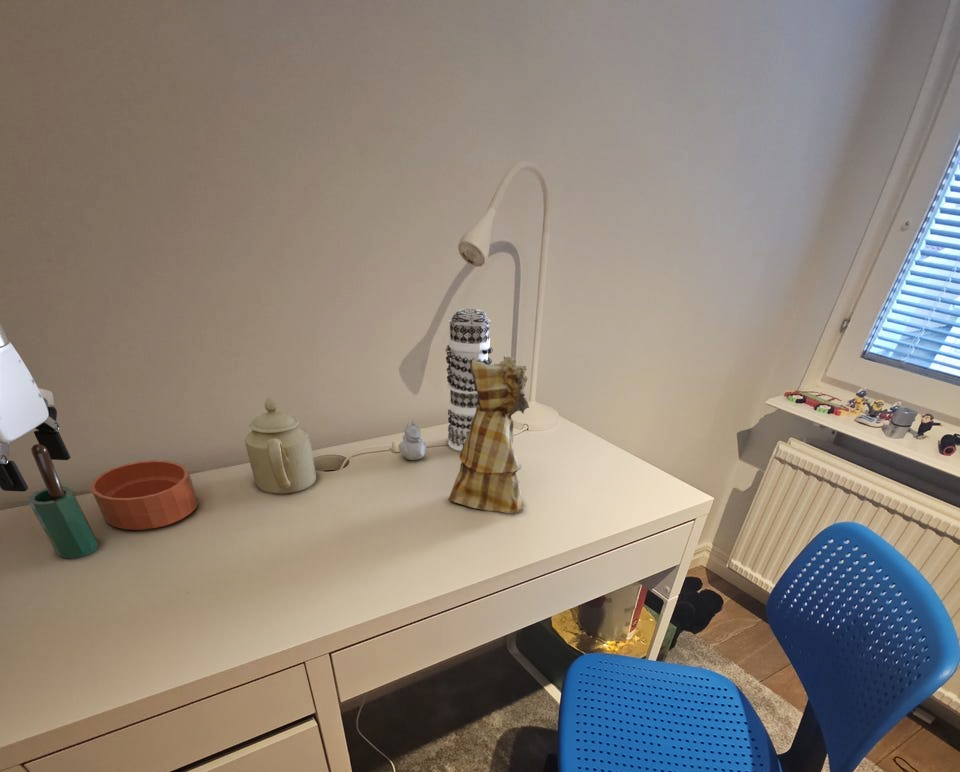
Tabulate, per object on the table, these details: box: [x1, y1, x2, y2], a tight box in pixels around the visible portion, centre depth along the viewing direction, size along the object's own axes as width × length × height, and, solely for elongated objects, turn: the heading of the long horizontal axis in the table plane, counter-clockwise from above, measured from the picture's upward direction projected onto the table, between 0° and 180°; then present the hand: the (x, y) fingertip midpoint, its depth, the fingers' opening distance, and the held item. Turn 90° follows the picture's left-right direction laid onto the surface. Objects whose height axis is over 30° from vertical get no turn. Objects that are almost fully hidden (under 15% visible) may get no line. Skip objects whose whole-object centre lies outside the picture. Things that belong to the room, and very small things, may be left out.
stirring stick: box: [30, 443, 65, 501], centre depth 80 cm, size 2×2×16 cm
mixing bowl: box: [89, 459, 199, 531], centre depth 92 cm, size 14×14×6 cm
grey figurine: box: [398, 419, 427, 461], centre depth 111 cm, size 5×7×8 cm
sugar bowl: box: [244, 397, 317, 495], centre depth 98 cm, size 15×11×15 cm
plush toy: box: [447, 355, 530, 514], centre depth 94 cm, size 14×14×25 cm
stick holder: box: [27, 486, 99, 560], centre depth 82 cm, size 5×5×9 cm
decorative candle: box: [445, 308, 494, 452], centre depth 112 cm, size 9×9×25 cm
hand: (38, 473), depth 77 cm, fingers open, 9 cm apart
